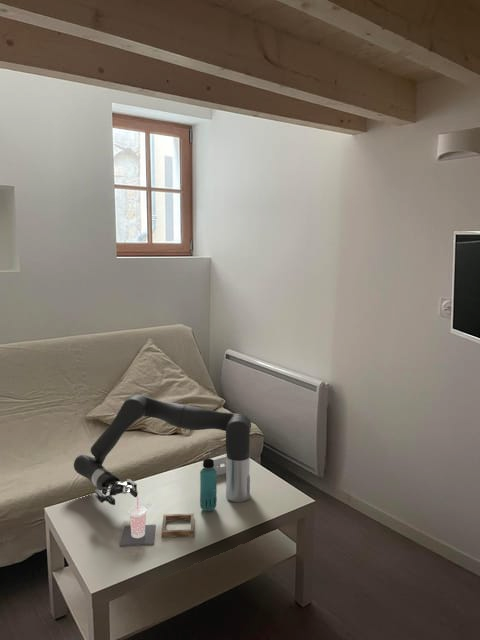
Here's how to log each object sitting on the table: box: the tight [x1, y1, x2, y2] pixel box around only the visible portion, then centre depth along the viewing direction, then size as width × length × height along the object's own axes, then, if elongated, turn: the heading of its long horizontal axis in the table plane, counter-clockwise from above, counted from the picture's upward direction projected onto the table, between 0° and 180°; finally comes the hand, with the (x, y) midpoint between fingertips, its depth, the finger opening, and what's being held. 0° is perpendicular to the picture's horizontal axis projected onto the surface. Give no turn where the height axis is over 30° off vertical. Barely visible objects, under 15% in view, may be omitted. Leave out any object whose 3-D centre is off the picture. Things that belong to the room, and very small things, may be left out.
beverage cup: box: [128, 495, 148, 538], centre depth 168 cm, size 6×6×14 cm
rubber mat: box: [119, 524, 157, 547], centre depth 169 cm, size 11×11×1 cm
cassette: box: [211, 455, 227, 477], centre depth 215 cm, size 12×2×8 cm, turn 123°
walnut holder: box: [161, 513, 195, 539], centre depth 174 cm, size 11×11×2 cm
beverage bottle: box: [199, 458, 218, 512], centre depth 184 cm, size 6×7×20 cm
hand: (125, 498), depth 174 cm, fingers open, 8 cm apart
